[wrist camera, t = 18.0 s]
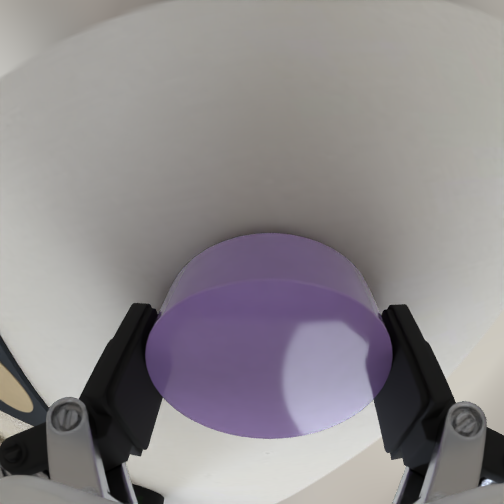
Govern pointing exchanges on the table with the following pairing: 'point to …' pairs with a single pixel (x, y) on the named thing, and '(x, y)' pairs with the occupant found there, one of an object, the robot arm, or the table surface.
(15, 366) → the placemat
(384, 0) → the table surface
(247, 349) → the lavender short cylinder
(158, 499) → the cup
